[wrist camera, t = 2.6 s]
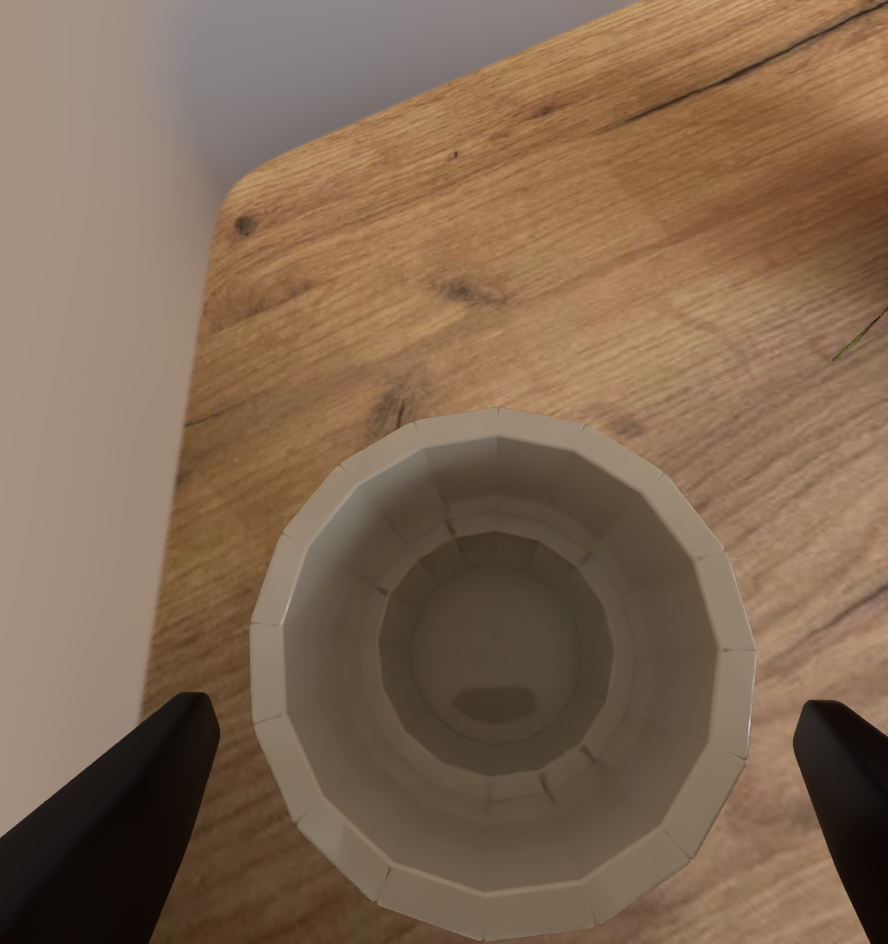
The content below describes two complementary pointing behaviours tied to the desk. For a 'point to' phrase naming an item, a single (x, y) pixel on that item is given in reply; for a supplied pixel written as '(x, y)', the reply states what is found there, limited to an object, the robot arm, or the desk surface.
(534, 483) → the beige cylindrical cup
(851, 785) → the robot arm
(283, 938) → the desk surface
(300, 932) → the desk surface
